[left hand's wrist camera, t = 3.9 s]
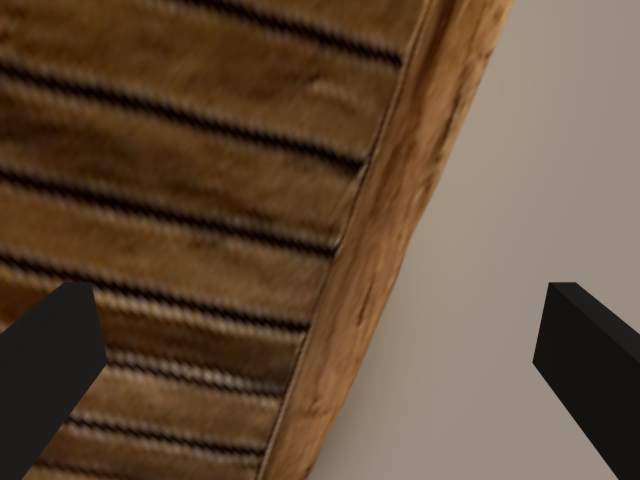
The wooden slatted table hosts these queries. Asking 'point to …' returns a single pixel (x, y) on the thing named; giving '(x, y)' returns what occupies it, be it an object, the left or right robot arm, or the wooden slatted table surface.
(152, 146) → the wooden slatted table surface
